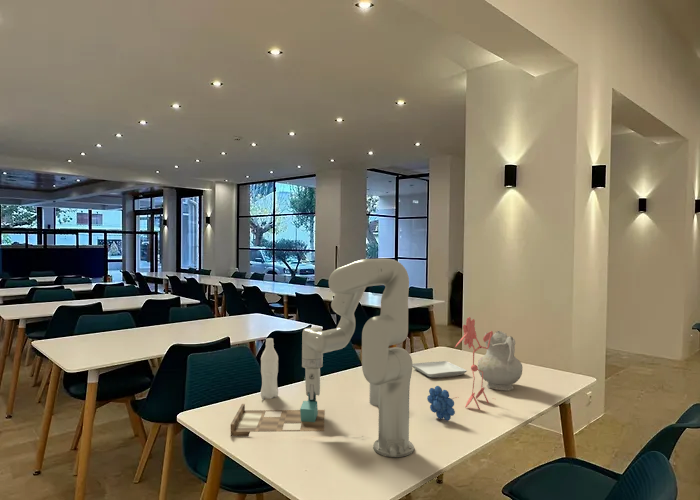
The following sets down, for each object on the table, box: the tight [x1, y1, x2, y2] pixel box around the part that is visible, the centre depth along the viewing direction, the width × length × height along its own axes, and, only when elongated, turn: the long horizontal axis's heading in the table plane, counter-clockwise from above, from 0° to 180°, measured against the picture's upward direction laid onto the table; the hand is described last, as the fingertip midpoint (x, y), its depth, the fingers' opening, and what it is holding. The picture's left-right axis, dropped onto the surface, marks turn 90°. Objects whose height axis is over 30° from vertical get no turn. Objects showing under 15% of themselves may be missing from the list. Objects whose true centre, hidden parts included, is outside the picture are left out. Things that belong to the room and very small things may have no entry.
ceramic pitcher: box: [477, 330, 523, 392], centre depth 211 cm, size 22×20×25 cm
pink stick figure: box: [452, 316, 495, 410], centre depth 191 cm, size 15×26×35 cm, turn 142°
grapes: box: [426, 385, 456, 422], centre depth 172 cm, size 12×7×12 cm, turn 46°
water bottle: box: [260, 337, 279, 401], centre depth 193 cm, size 7×7×25 cm
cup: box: [369, 383, 380, 407], centre depth 190 cm, size 8×8×12 cm
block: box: [299, 400, 319, 422], centre depth 167 cm, size 5×5×5 cm
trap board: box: [230, 403, 326, 437], centre depth 167 cm, size 20×31×4 cm, turn 92°
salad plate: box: [412, 360, 468, 379], centre depth 236 cm, size 21×21×3 cm
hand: (312, 412), depth 172 cm, fingers closed
